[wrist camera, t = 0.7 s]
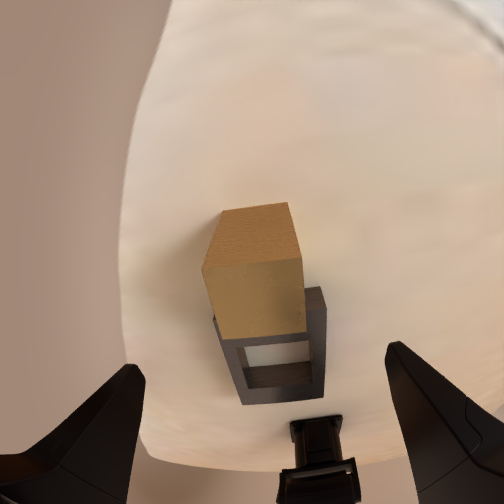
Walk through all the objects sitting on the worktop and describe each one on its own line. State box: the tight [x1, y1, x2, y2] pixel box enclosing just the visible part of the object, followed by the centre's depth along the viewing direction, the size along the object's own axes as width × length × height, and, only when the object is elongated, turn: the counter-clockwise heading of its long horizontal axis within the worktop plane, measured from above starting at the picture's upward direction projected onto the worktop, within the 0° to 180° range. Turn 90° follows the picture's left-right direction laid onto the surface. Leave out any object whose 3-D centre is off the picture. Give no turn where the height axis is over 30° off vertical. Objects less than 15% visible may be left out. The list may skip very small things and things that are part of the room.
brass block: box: [201, 202, 307, 340], centre depth 15 cm, size 4×4×7 cm
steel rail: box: [213, 286, 327, 405], centre depth 21 cm, size 11×8×2 cm
